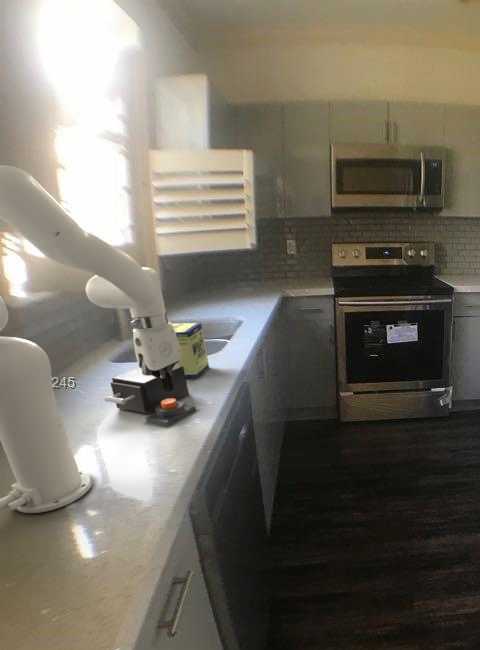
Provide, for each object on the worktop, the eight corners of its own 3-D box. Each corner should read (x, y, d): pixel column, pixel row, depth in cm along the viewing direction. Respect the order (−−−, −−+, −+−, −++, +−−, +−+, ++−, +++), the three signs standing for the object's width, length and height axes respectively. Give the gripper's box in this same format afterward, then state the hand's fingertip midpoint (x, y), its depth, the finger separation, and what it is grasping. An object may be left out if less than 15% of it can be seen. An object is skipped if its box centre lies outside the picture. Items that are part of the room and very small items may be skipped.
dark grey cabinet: (151, 414, 122) (144, 383, 118) (119, 408, 126) (111, 378, 122) (189, 395, 133) (183, 365, 130) (159, 390, 137) (152, 361, 134)
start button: (169, 410, 117) (168, 404, 116) (159, 408, 118) (157, 402, 117) (180, 405, 120) (179, 399, 119) (169, 403, 121) (168, 397, 120)
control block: (167, 427, 115) (164, 415, 113) (146, 423, 117) (143, 411, 116) (196, 410, 123) (193, 400, 122) (176, 407, 126) (173, 396, 124)
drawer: (132, 420, 117) (125, 394, 114) (103, 414, 120) (95, 388, 118) (181, 395, 131) (176, 371, 128) (153, 390, 135) (148, 367, 132)
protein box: (198, 378, 145) (188, 331, 139) (149, 379, 145) (138, 332, 139) (210, 367, 155) (202, 322, 149) (164, 368, 155) (155, 323, 149)
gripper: (136, 330, 103) (154, 404, 110) (185, 314, 115) (199, 381, 123) (112, 328, 105) (131, 400, 112) (162, 312, 118) (177, 378, 125)
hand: (166, 390), depth 117 cm, fingers closed
